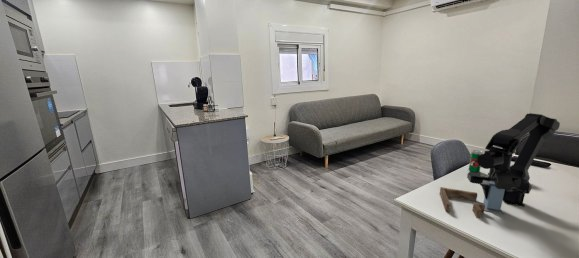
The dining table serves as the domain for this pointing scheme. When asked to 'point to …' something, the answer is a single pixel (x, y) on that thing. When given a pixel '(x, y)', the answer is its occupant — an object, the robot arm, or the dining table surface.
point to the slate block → (494, 197)
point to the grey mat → (492, 210)
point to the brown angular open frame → (462, 195)
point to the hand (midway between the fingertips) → (492, 199)
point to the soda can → (474, 161)
